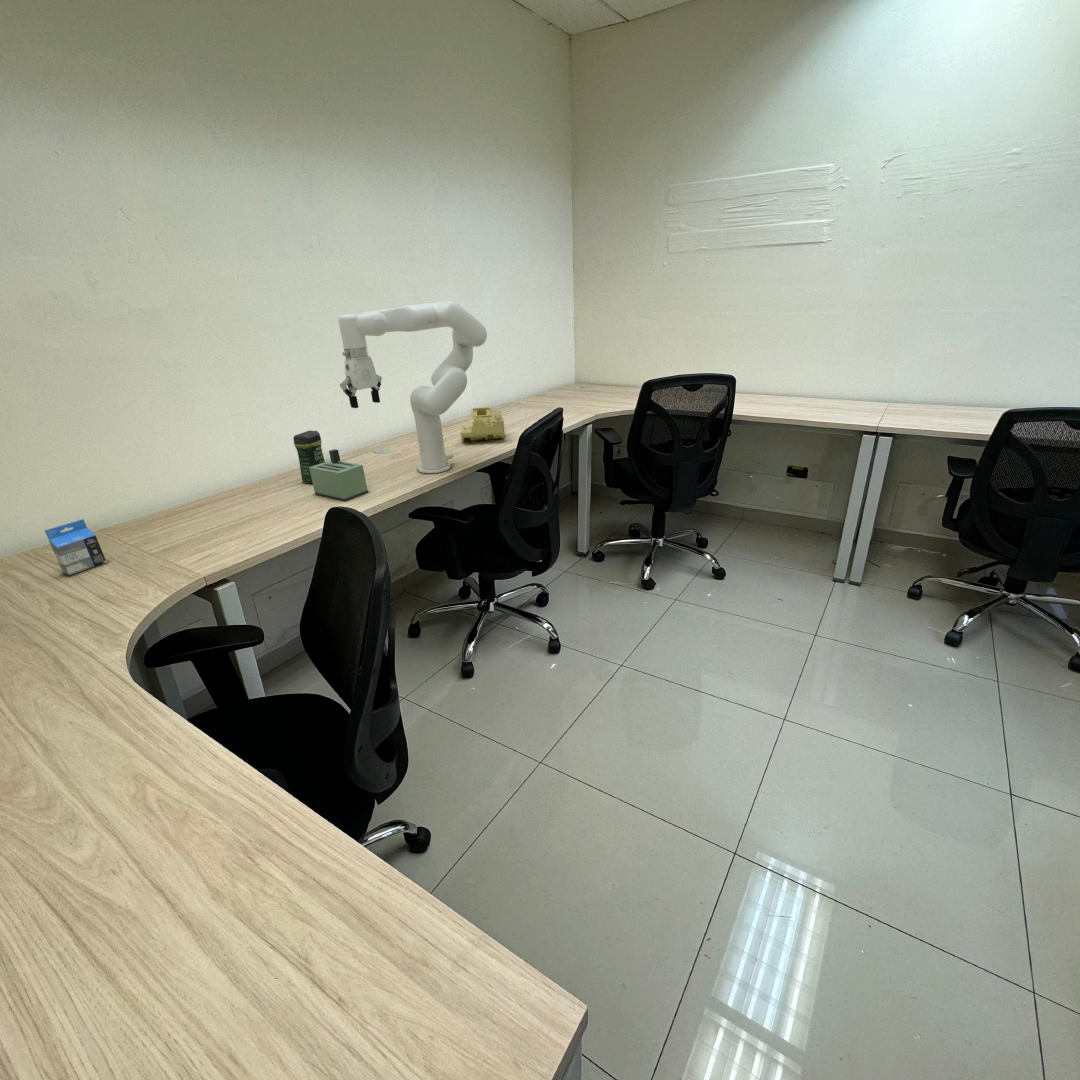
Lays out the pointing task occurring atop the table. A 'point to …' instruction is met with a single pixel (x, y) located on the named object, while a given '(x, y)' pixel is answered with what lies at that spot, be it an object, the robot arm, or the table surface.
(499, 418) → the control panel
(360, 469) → the toaster
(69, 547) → the tape cartridge
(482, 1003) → the table surface
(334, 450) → the slider
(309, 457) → the coffee jar
